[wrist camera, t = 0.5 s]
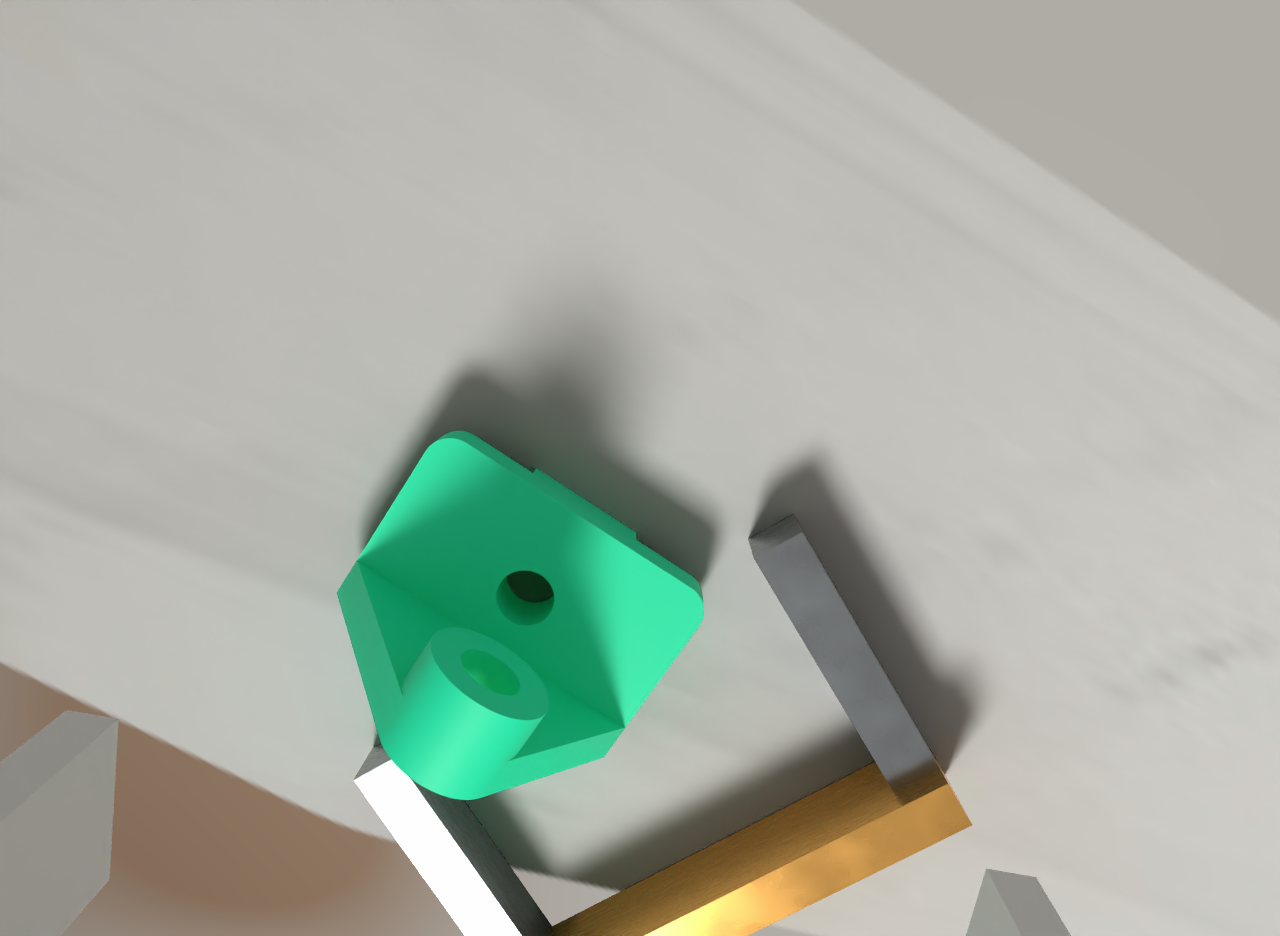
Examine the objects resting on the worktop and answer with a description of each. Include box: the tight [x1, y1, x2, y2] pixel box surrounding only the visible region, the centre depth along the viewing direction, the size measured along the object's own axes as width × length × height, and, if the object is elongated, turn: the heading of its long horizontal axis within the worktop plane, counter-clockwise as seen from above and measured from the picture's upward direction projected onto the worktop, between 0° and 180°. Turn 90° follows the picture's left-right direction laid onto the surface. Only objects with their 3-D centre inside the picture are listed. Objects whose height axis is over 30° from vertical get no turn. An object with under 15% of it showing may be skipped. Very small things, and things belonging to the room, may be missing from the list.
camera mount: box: [337, 431, 704, 800], centre depth 33 cm, size 12×8×10 cm, turn 56°
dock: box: [353, 514, 972, 936], centre depth 37 cm, size 13×20×4 cm, turn 121°
